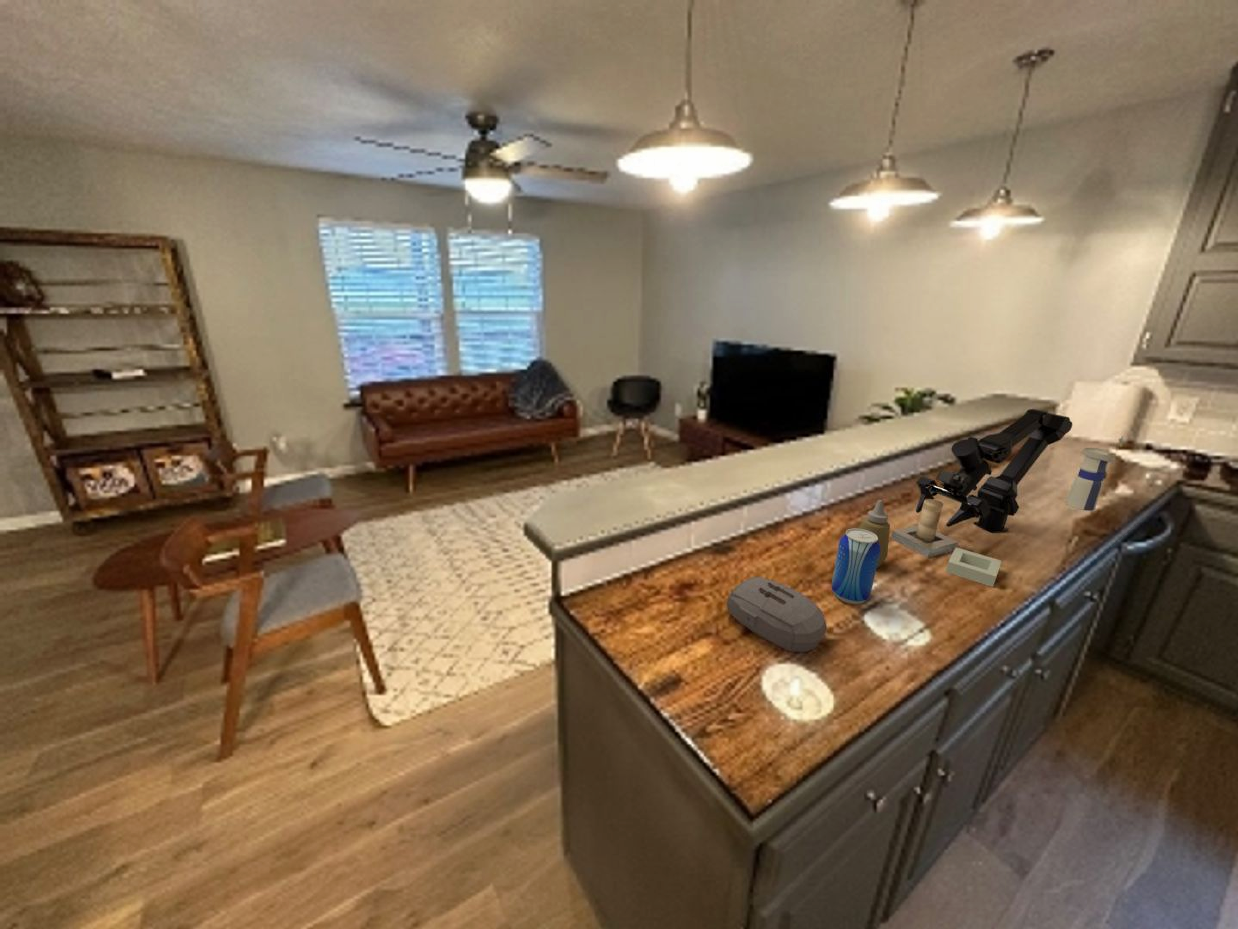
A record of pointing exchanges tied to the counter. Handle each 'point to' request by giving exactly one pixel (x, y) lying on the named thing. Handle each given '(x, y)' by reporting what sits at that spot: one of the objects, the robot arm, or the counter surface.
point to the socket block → (928, 550)
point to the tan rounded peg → (929, 520)
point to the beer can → (855, 566)
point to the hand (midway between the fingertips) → (931, 518)
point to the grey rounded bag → (777, 614)
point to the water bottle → (1090, 479)
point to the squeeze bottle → (878, 528)
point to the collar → (973, 566)
